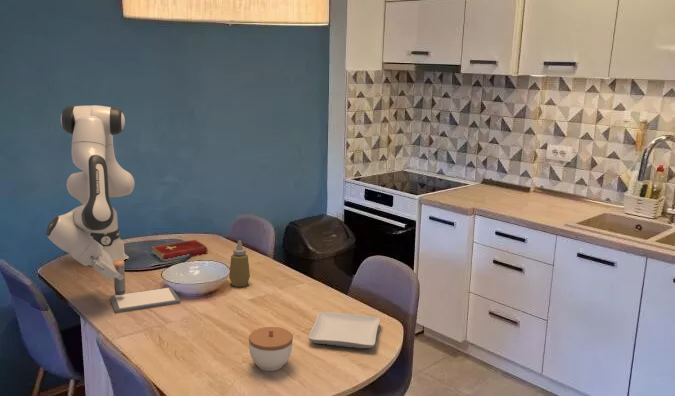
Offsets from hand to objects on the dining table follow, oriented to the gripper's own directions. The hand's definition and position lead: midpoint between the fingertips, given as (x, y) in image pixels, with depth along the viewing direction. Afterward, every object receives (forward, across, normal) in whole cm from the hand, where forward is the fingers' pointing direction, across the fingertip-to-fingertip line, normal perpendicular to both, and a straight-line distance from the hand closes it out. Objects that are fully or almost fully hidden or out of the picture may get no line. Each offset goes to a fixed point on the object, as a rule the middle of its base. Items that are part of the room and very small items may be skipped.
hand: (121, 276), depth 209 cm
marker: (+4, 0, +5) cm, 7 cm away
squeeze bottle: (+38, -1, -24) cm, 44 cm away
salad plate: (+51, -55, -36) cm, 83 cm away
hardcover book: (+28, +43, -15) cm, 53 cm away
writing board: (+12, -3, +2) cm, 12 cm away
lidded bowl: (+30, -63, -15) cm, 71 cm away
